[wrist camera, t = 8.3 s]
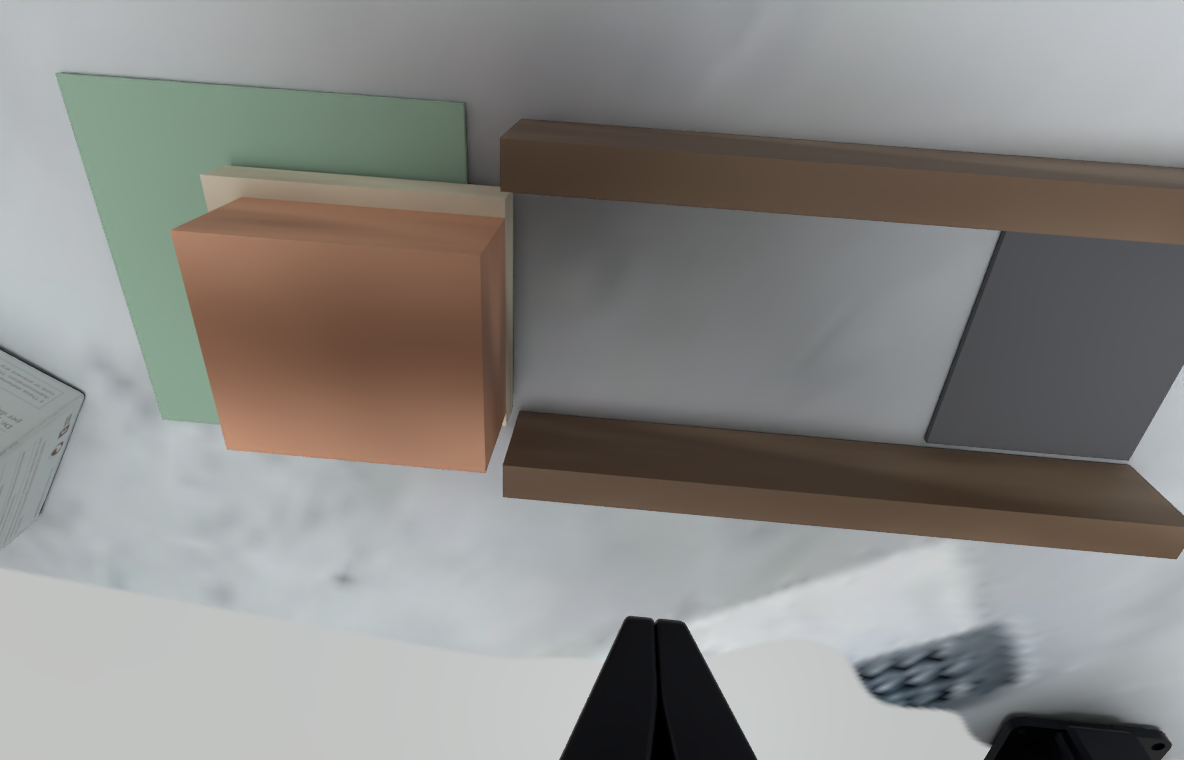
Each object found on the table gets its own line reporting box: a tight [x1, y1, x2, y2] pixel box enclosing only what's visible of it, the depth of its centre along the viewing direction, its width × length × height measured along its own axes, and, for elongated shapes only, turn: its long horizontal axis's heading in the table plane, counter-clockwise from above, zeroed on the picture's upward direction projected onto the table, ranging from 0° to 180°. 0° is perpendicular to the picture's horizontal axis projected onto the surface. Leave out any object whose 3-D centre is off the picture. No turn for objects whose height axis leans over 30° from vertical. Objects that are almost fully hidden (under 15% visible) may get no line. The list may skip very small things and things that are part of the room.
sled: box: [170, 165, 513, 473], centre depth 18 cm, size 7×8×4 cm
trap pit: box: [925, 231, 1184, 461], centre depth 20 cm, size 7×6×1 cm
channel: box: [500, 119, 1184, 559], centre depth 18 cm, size 10×20×3 cm, turn 87°
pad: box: [55, 73, 468, 424], centre depth 20 cm, size 11×11×1 cm
